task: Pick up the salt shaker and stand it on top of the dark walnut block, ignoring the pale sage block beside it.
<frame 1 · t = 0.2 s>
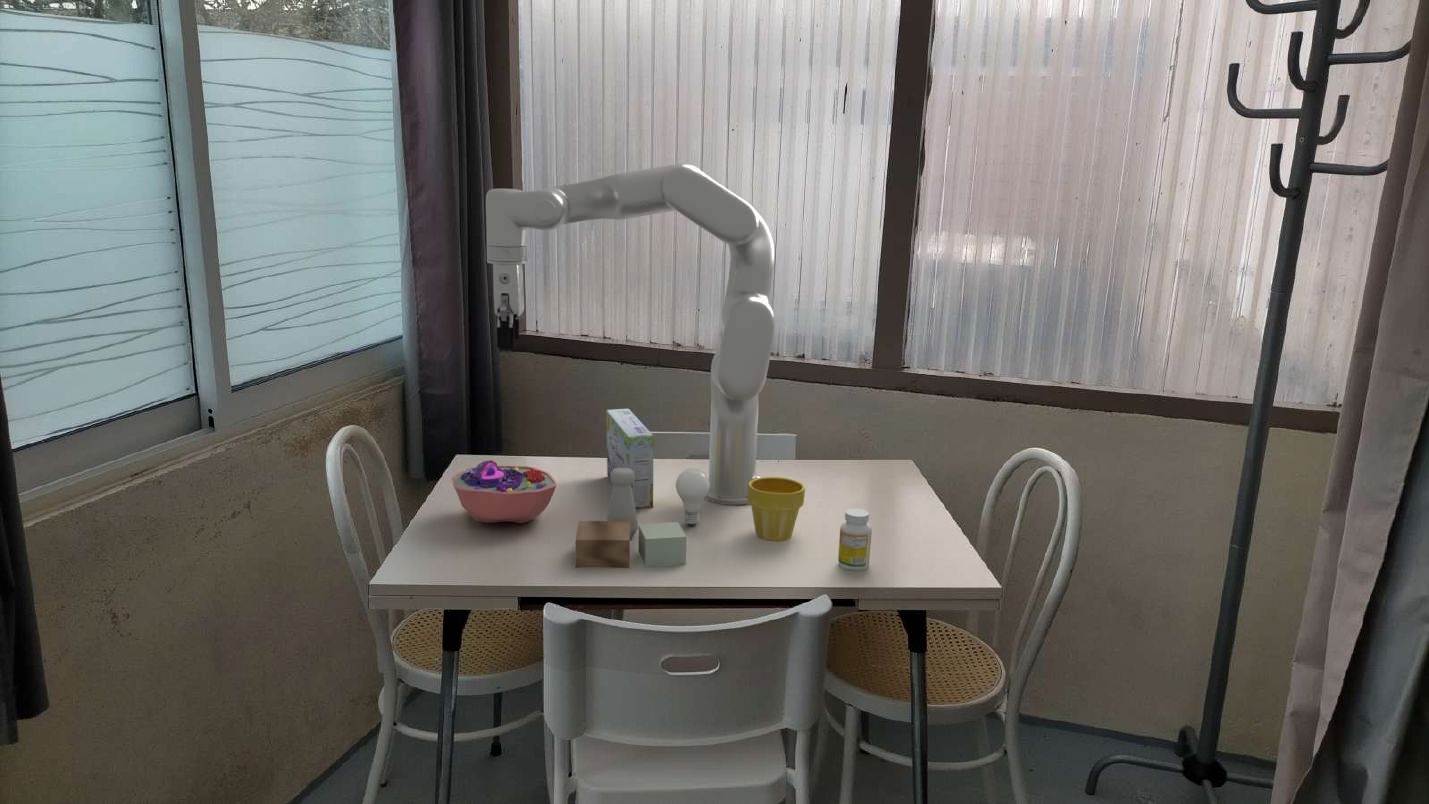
hand: (508, 343, 199), 31 cm above the table, tool pointing down, fingers open, 9 cm apart
cell model: (505, 521, 192), on the table
supplement bottle: (853, 566, 177), on the table
lightbulb: (691, 525, 193), on the table
sage block: (661, 557, 177), on the table
snack box: (628, 492, 210), on the table
salt shaker: (621, 539, 185), on the table
plant pot: (773, 536, 189), on the table
walnut block: (603, 557, 176), on the table
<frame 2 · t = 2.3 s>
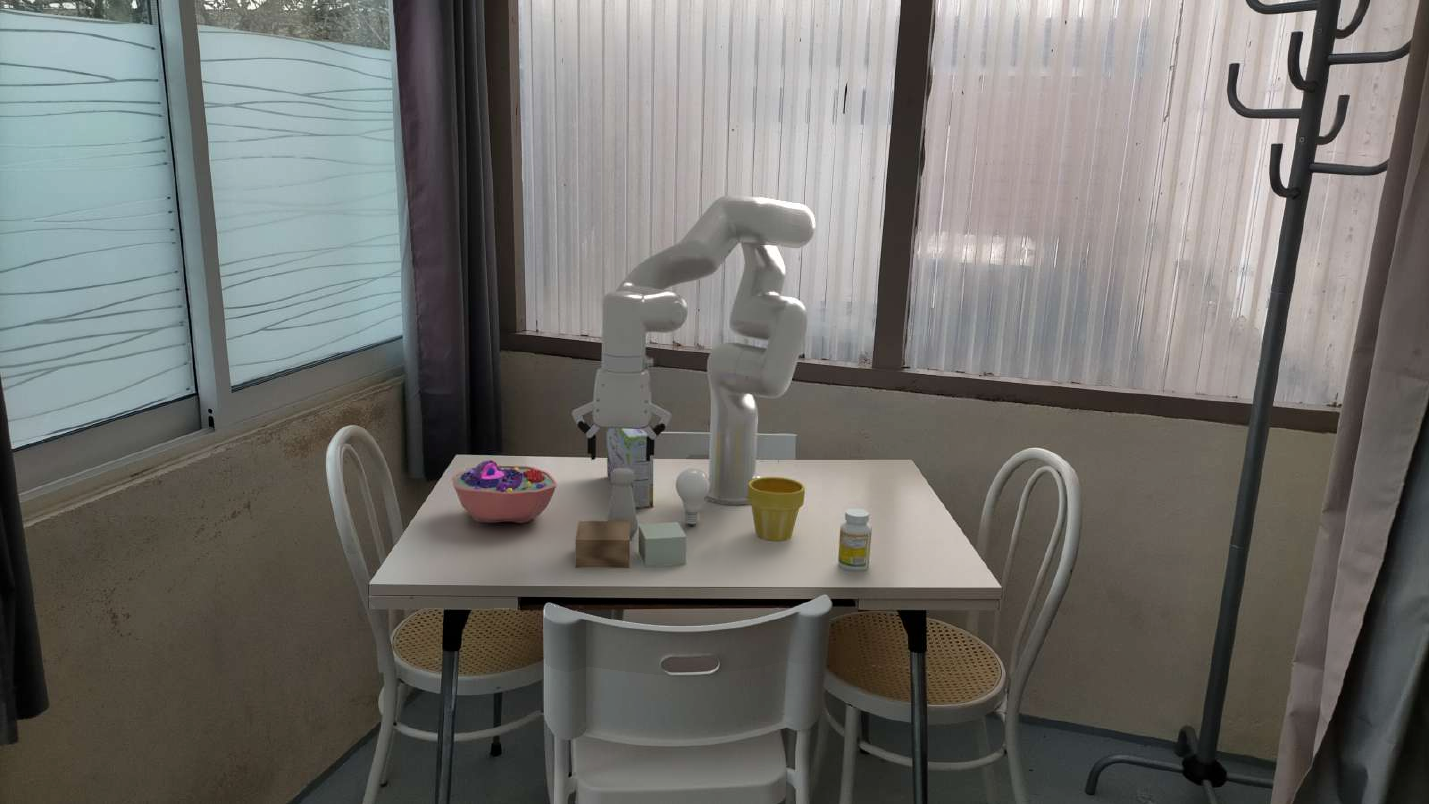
hand: (620, 458, 181), 15 cm above the table, tool pointing down, fingers open, 9 cm apart
nothing on the table moved.
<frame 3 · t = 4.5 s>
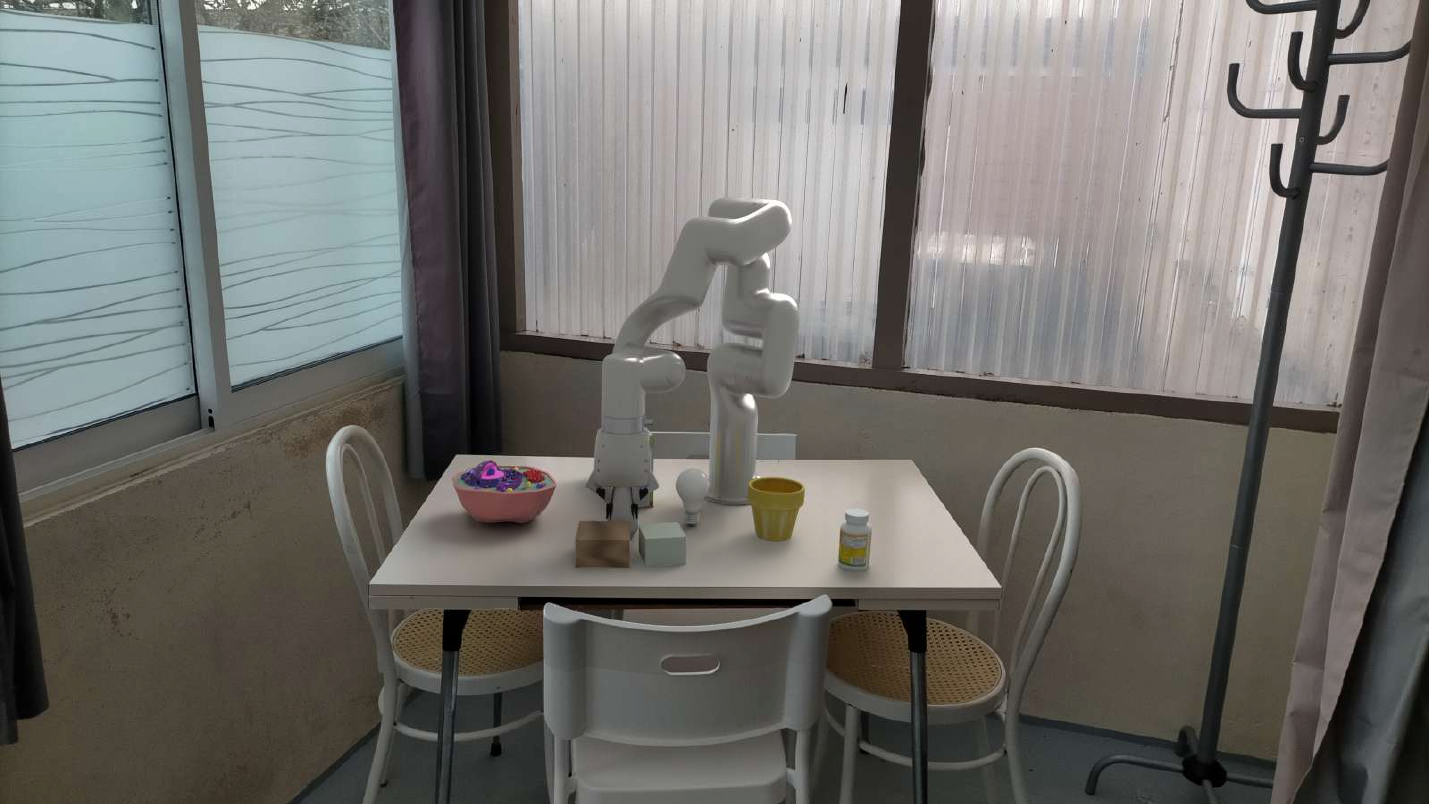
hand: (621, 521, 184), 3 cm above the table, tool pointing down, fingers closed on salt shaker, 3 cm apart
salt shaker: (622, 539, 185), on the table, touching gripper
everything else where it was.
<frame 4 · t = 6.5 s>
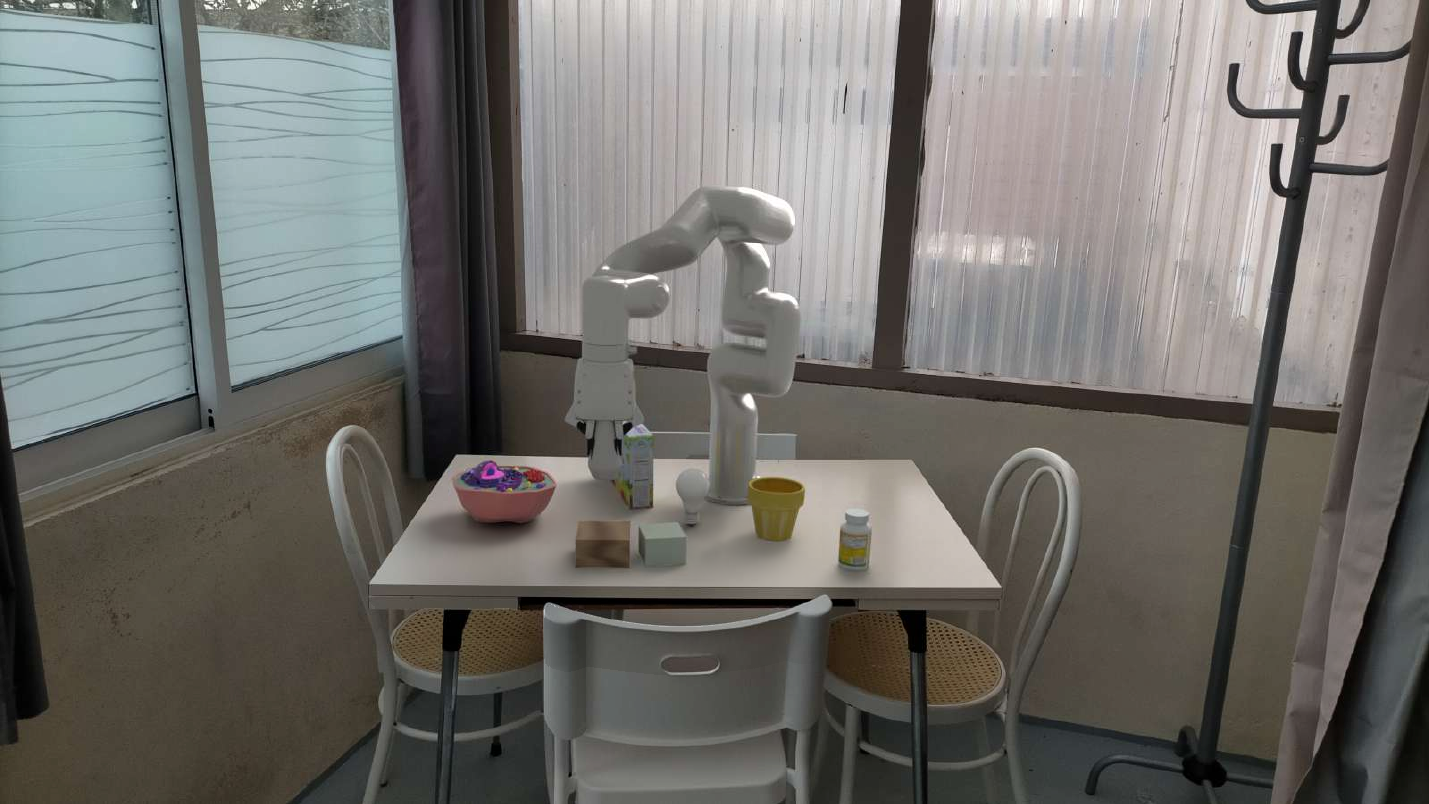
hand: (604, 458, 172), 18 cm above the table, tool pointing down, fingers closed on salt shaker, 3 cm apart
salt shaker: (604, 478, 173), point 14 cm above the table, touching gripper
everything else where it was.
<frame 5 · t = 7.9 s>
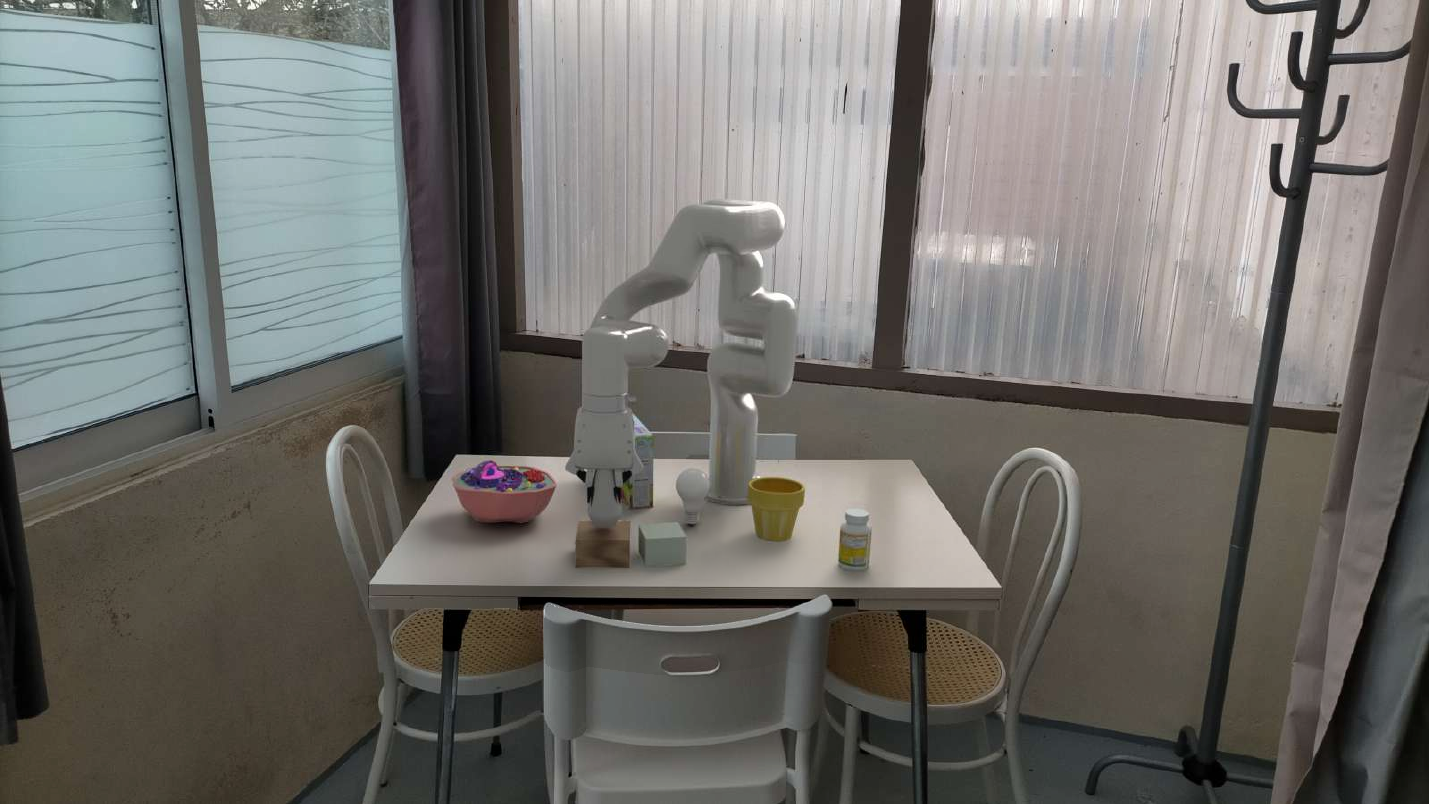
hand: (604, 506, 174), 9 cm above the table, tool pointing down, fingers closed on salt shaker, 3 cm apart
salt shaker: (604, 525, 175), point 6 cm above the table, touching gripper
everything else where it was.
when the fingers open (9 cm above the table, at t = 8.6 s): salt shaker stays where it is, resting on walnut block.
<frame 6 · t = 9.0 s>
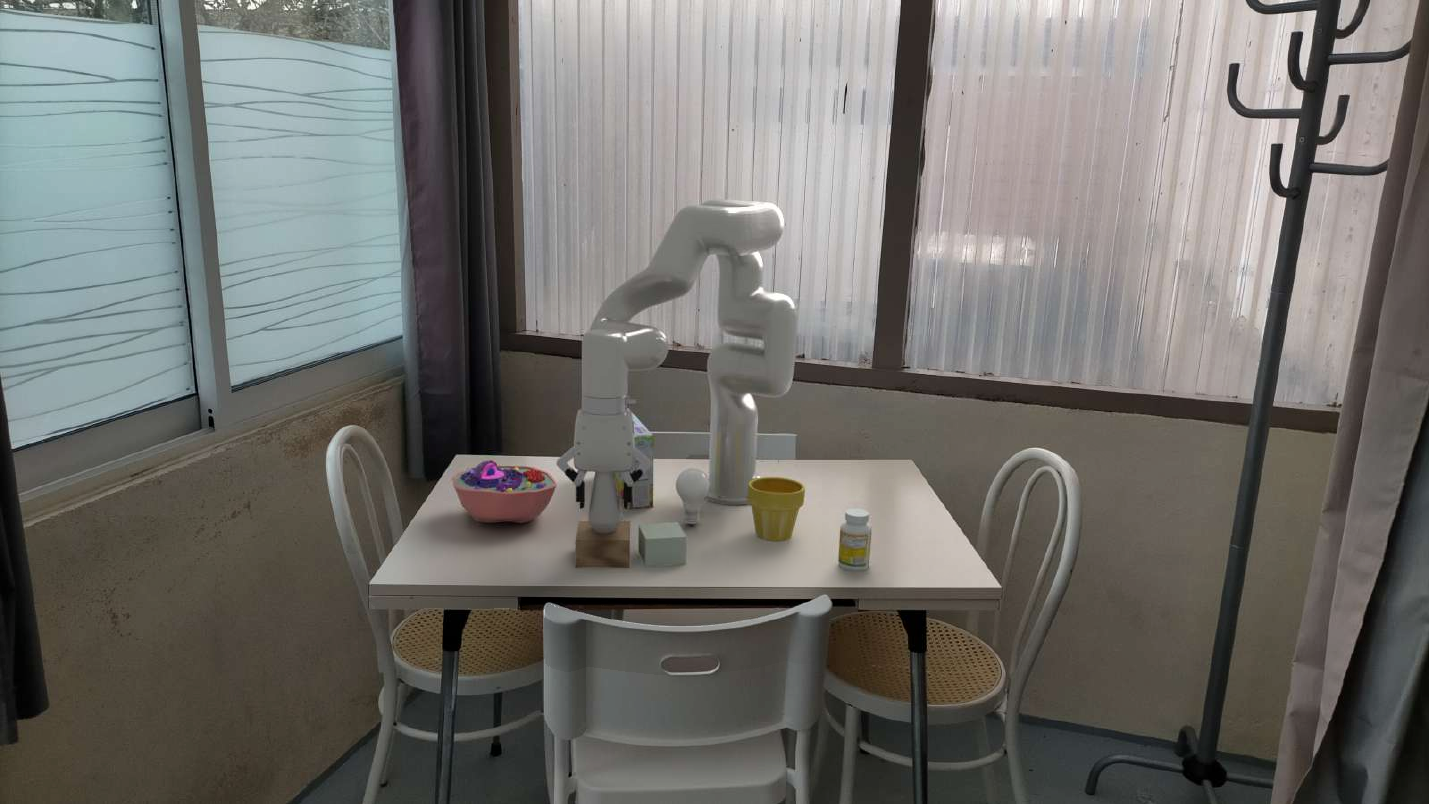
hand: (603, 505, 174), 9 cm above the table, tool pointing down, fingers open, 6 cm apart
salt shaker: (605, 530, 175), point 5 cm above the table, touching walnut block
everything else where it was.
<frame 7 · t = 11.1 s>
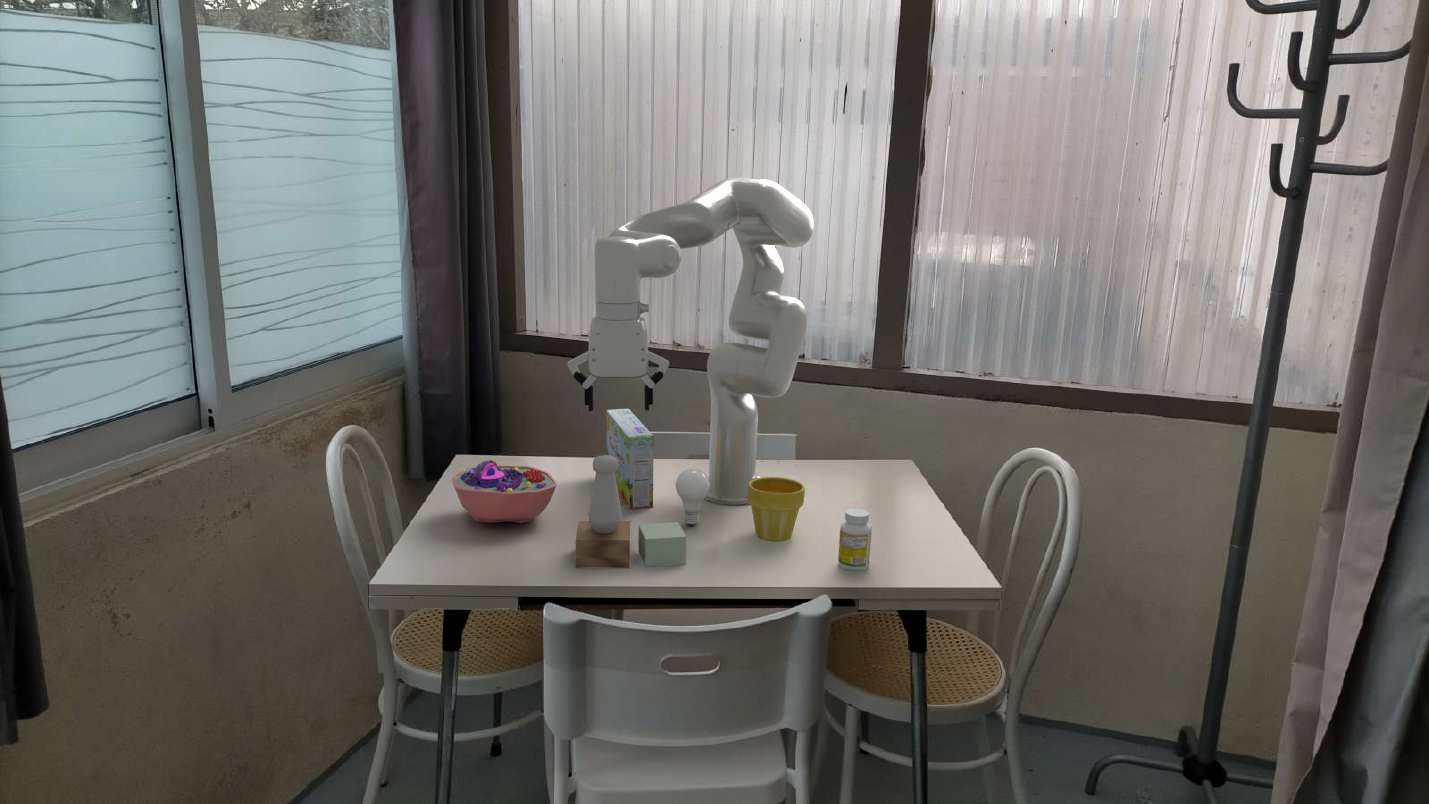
hand: (619, 408, 177), 25 cm above the table, tool pointing down, fingers open, 9 cm apart
nothing on the table moved.
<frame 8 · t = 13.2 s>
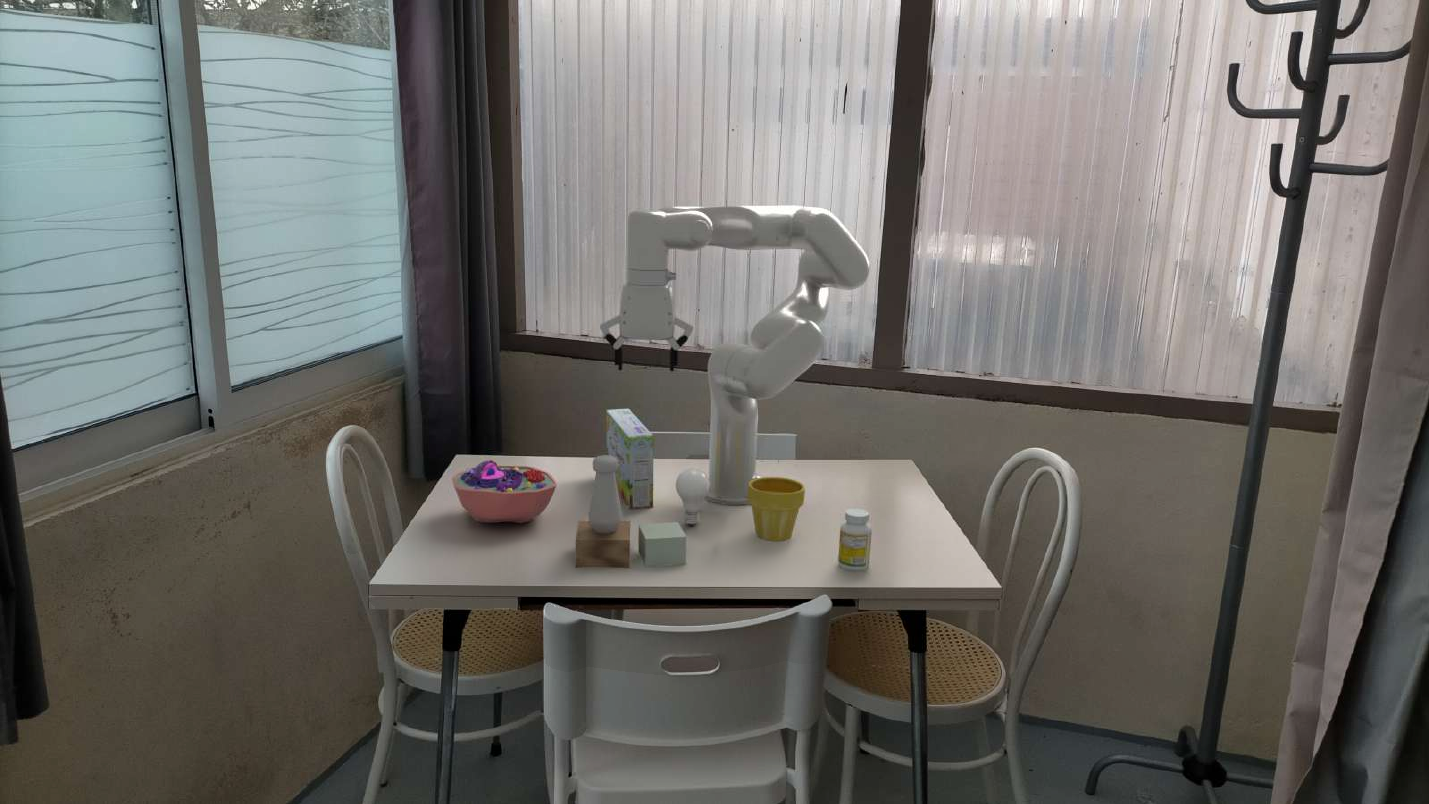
hand: (646, 369, 192), 28 cm above the table, tool pointing down, fingers open, 9 cm apart
nothing on the table moved.
at the end: salt shaker inside the target area on the walnut block (0.3 cm from its centre), point 4.8 cm above the walnut block's base; salt shaker tilted 0°; the gripper is holding nothing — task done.
